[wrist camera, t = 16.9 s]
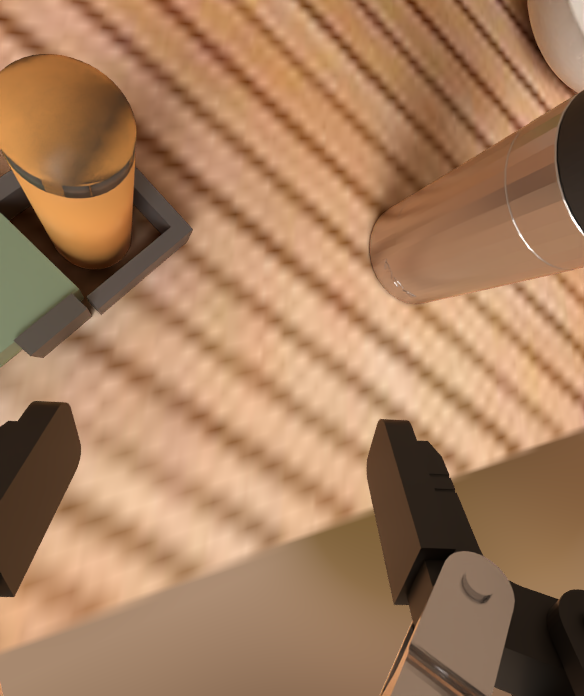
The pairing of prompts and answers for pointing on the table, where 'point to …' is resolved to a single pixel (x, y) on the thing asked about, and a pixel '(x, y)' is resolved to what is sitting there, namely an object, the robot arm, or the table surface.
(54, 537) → the table surface
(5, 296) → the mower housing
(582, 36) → the serving bowl
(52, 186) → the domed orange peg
